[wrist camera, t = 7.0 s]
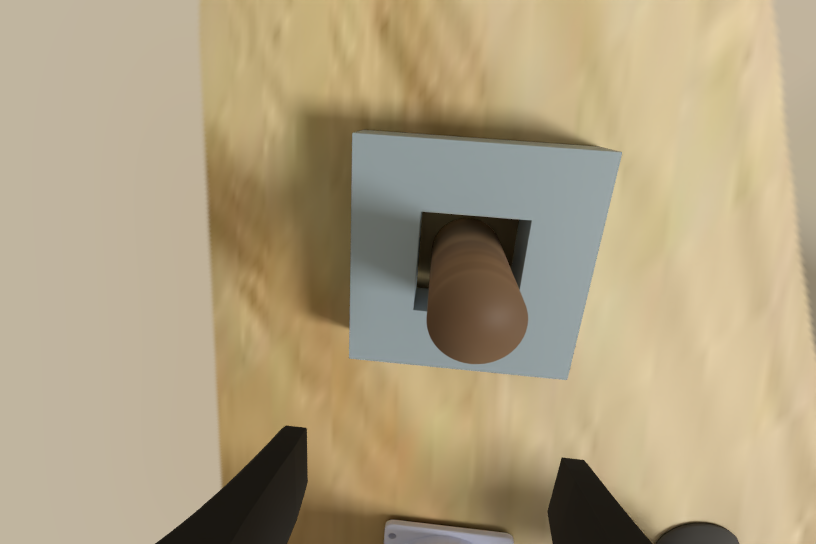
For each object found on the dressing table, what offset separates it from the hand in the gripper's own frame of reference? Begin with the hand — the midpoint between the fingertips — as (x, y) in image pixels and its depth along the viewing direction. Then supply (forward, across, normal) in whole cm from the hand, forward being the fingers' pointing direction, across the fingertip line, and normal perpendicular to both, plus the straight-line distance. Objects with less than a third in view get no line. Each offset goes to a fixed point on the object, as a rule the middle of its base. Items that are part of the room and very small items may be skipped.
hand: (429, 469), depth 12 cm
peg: (+10, -1, -3) cm, 11 cm away
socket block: (+10, -1, -4) cm, 11 cm away
